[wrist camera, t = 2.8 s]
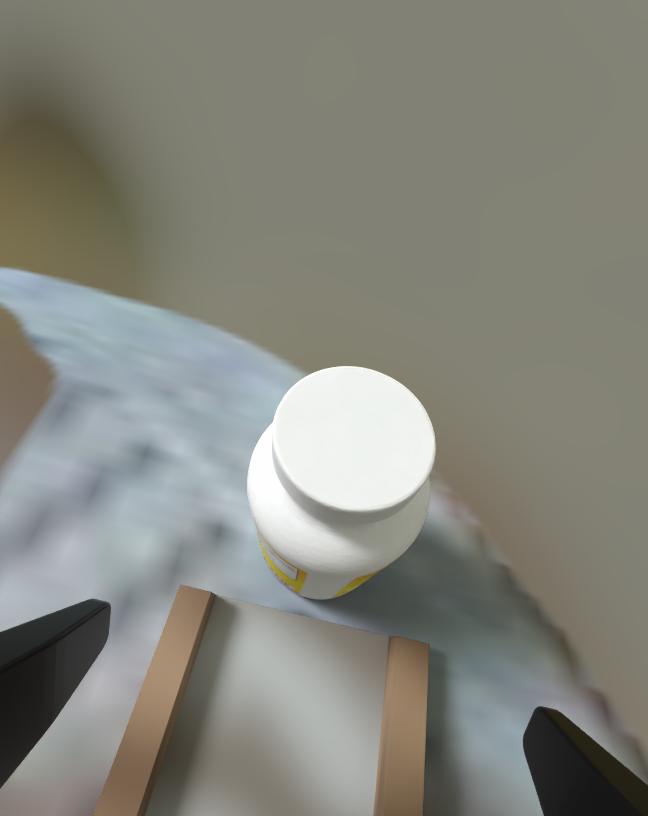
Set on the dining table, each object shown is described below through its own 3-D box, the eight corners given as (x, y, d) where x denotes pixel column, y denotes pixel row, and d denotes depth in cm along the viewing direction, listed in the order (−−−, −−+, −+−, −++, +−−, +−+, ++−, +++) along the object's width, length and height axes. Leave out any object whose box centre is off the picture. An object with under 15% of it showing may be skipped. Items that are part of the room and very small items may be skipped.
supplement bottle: (380, 491, 23) (469, 361, 12) (371, 611, 19) (484, 580, 8) (275, 471, 23) (268, 324, 12) (246, 588, 19) (201, 527, 8)
